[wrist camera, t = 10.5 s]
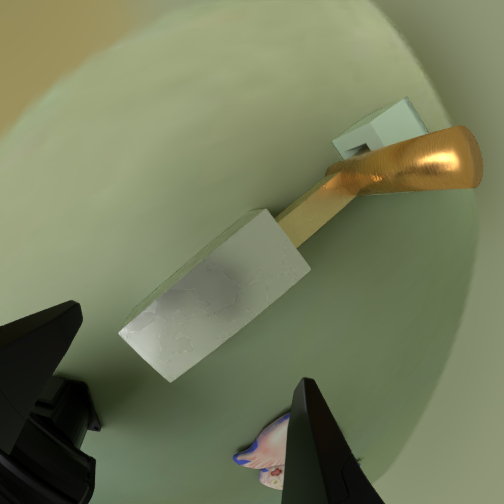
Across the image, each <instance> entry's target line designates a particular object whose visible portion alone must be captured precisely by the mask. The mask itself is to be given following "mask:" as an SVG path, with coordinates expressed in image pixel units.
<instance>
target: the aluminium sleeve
mask: <svg viewBox="0 0 504 504" xmlns="http://www.w3.org/2000/svg"><path fill="white" fill-rule="evenodd" d="M310 270H311V268H310V267H309V265H308V264H307V262H306V261H305V260H304V258H303V257H302V256H301V254H300V253H299V251H298V250H297V249H296V247H295V246H294V245H293V243H292V242H291V241H290V239H289V238H288V237H287V235H286V234H285V233H284V231H283V230H282V229H281V227H280V226H279V225H278V223H277V222H276V221H275V219H274V218H273V217H272V215H271V214H270V213H269V211H268V210H267V209H258V210H251V211H249V212H248V213H247V214H246V215H244V216H243V217H242V218H241V219H239V220H238V221H237V222H236V223H235V224H233V225H232V226H231V227H230V228H228V229H227V230H226V231H225V232H223V233H222V234H221V235H220V236H219V237H217V238H216V239H215V240H214V241H213V242H211V243H210V244H209V245H208V246H206V247H205V248H204V249H203V250H202V251H200V252H199V253H198V254H197V255H196V256H195V257H193V258H192V259H191V260H190V261H189V262H187V263H186V264H185V265H184V266H183V267H181V268H180V269H179V270H178V271H177V272H176V273H174V274H173V275H172V276H171V277H170V278H169V279H167V280H166V281H165V282H164V283H163V284H162V285H160V286H159V287H158V288H157V289H156V290H155V291H154V292H152V293H151V294H150V295H149V296H148V297H147V298H146V299H144V300H143V301H142V302H141V303H140V304H139V305H138V306H136V307H135V308H134V309H133V310H132V312H131V313H130V315H129V316H128V318H127V320H126V321H125V323H124V324H123V326H122V328H121V329H120V331H119V332H118V334H119V335H120V336H121V337H122V338H123V339H124V340H125V341H126V342H127V343H128V344H129V345H130V346H131V347H132V348H133V349H134V350H135V351H136V352H137V353H138V354H139V355H140V356H141V357H142V358H143V359H144V360H145V361H146V362H147V363H149V364H150V365H151V366H152V367H153V368H154V369H155V370H156V371H157V372H158V373H159V374H161V375H162V376H163V377H164V378H165V379H166V380H167V381H168V382H170V383H171V382H172V381H174V380H175V379H176V378H178V377H179V376H180V375H182V374H183V373H184V372H186V371H187V370H189V369H190V368H191V367H193V366H194V365H195V364H197V363H198V362H199V361H201V360H202V359H203V358H204V357H206V356H207V355H208V354H210V353H211V352H212V351H214V350H215V349H216V348H217V347H219V346H220V345H221V344H223V343H224V342H225V341H226V340H228V339H229V338H230V337H231V336H233V335H234V334H235V333H236V332H238V331H239V330H240V329H241V328H243V327H244V326H245V325H246V324H248V323H249V322H250V321H251V320H253V319H254V318H255V317H256V316H257V315H259V314H260V313H261V312H262V311H264V310H265V309H266V308H267V307H268V306H270V305H271V304H272V303H273V302H274V301H276V300H277V299H278V298H279V297H280V296H281V295H283V294H284V293H285V292H286V291H287V290H288V289H290V288H291V287H292V286H293V285H294V284H295V283H297V282H298V281H299V280H300V279H301V278H302V277H304V276H305V275H306V274H307V273H308V272H309V271H310Z"/></svg>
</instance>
